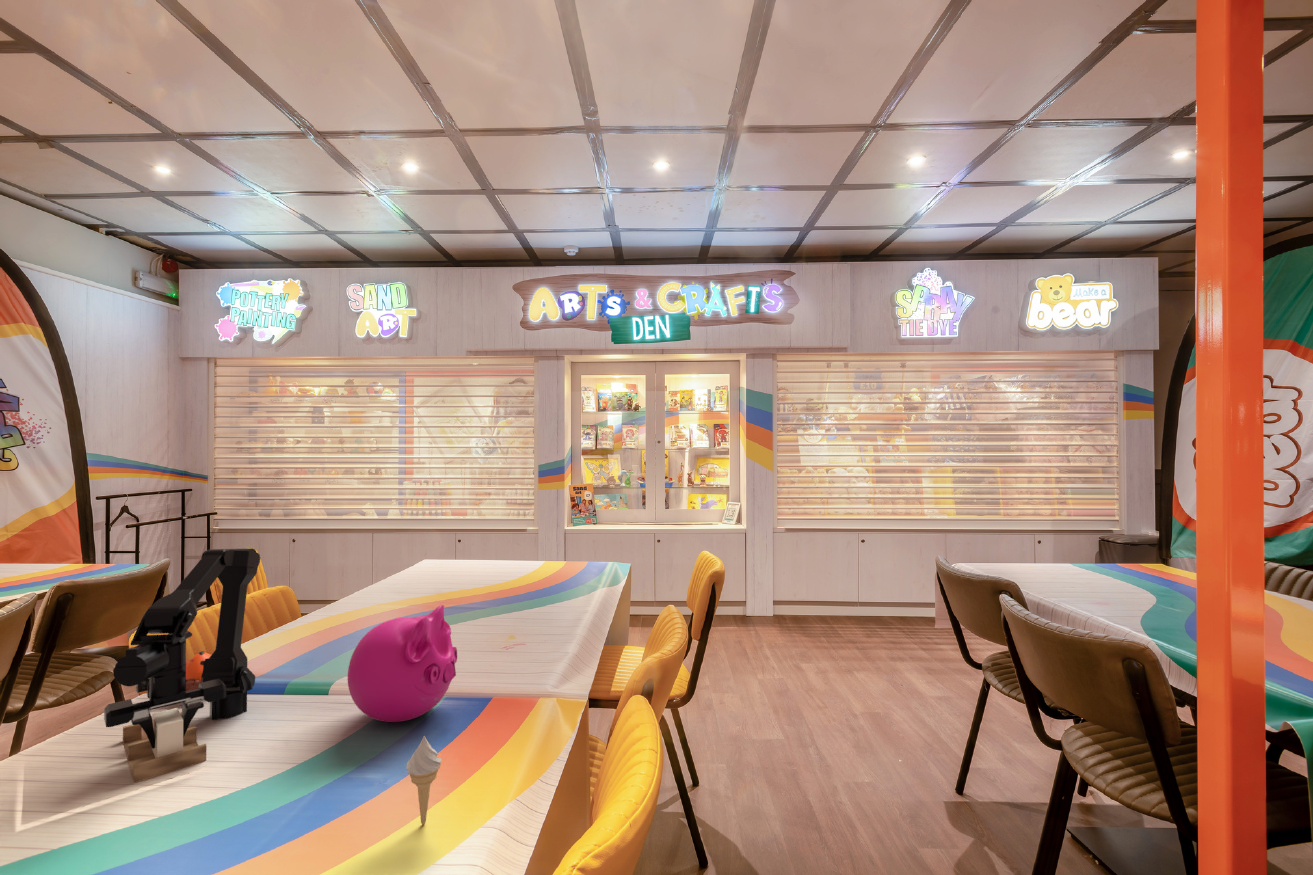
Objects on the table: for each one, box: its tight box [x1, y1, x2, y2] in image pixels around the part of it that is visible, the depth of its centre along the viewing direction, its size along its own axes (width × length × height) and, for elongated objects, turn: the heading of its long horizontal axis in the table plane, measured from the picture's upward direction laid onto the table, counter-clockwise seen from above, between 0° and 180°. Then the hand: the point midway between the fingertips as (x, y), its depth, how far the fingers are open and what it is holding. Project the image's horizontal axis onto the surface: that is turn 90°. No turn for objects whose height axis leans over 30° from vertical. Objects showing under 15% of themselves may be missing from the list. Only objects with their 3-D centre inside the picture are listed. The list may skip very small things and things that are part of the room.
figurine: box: [347, 604, 458, 723], centre depth 142 cm, size 23×24×25 cm
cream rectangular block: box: [151, 707, 183, 758], centre depth 121 cm, size 4×8×7 cm, turn 46°
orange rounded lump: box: [186, 650, 213, 692], centre depth 154 cm, size 12×10×11 cm
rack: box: [122, 711, 207, 784], centre depth 124 cm, size 11×23×4 cm, turn 46°
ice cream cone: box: [405, 735, 443, 826], centre depth 101 cm, size 6×6×15 cm
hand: (167, 743), depth 121 cm, fingers closed on cream rectangular block, 4 cm apart
